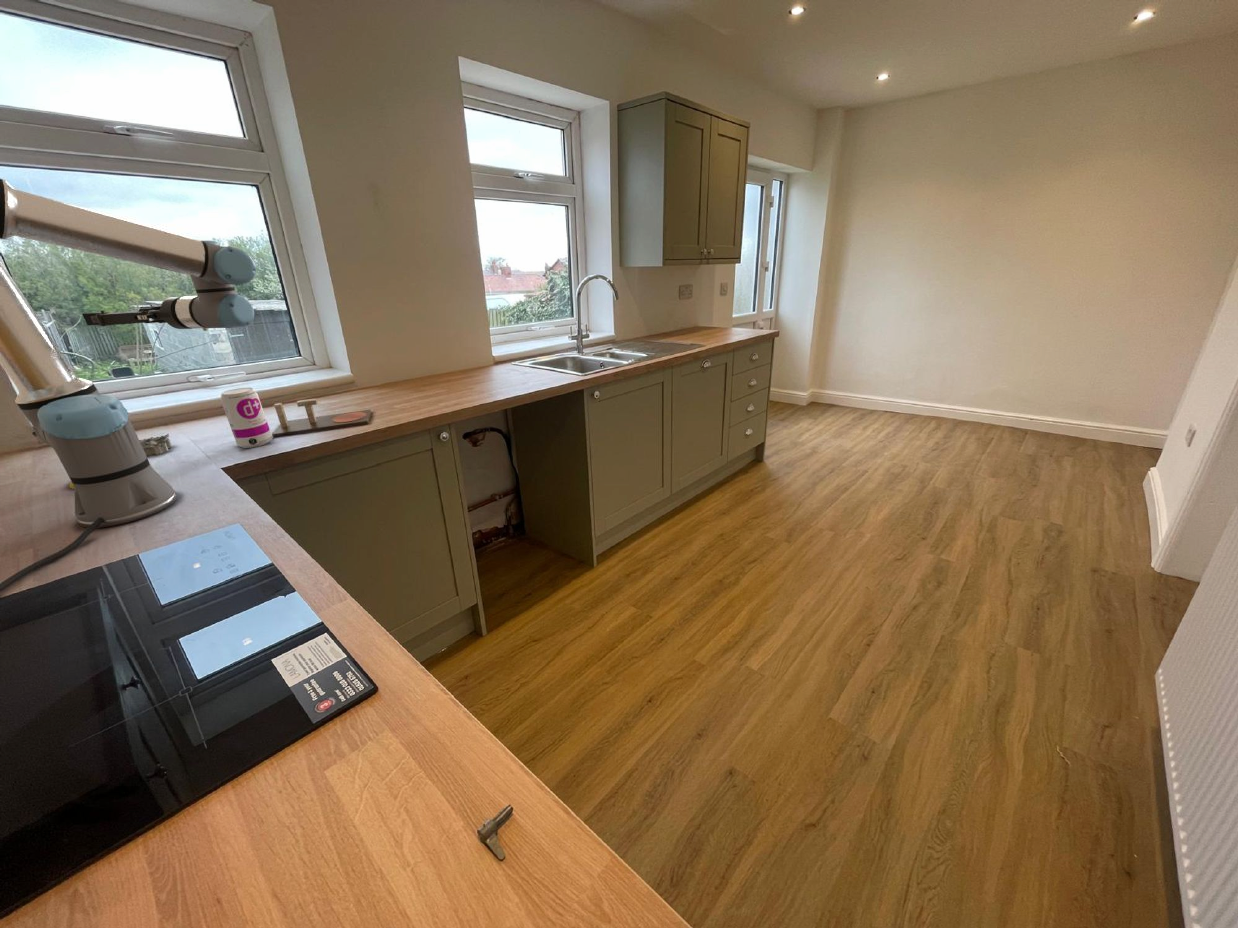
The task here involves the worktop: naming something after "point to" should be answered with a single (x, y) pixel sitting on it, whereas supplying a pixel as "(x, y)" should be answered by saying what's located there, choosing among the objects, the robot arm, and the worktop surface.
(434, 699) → the worktop surface
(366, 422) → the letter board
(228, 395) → the supplement can
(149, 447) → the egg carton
